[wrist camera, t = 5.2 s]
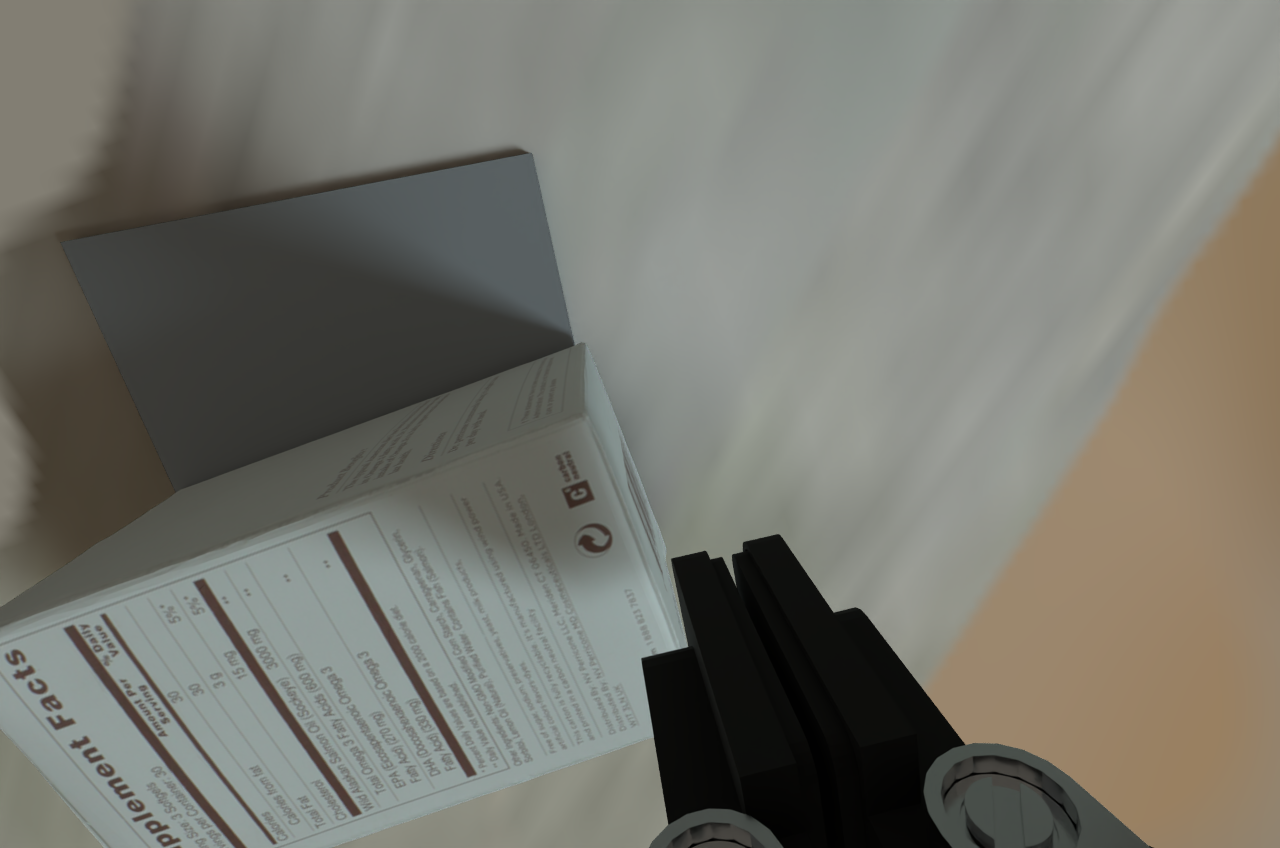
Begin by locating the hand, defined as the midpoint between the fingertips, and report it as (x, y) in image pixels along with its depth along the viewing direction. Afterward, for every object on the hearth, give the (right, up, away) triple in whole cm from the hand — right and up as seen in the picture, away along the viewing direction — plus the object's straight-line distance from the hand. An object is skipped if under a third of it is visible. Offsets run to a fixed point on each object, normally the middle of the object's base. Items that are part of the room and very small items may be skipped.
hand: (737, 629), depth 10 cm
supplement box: (-1, +1, +6) cm, 6 cm away
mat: (-9, +1, +10) cm, 13 cm away
